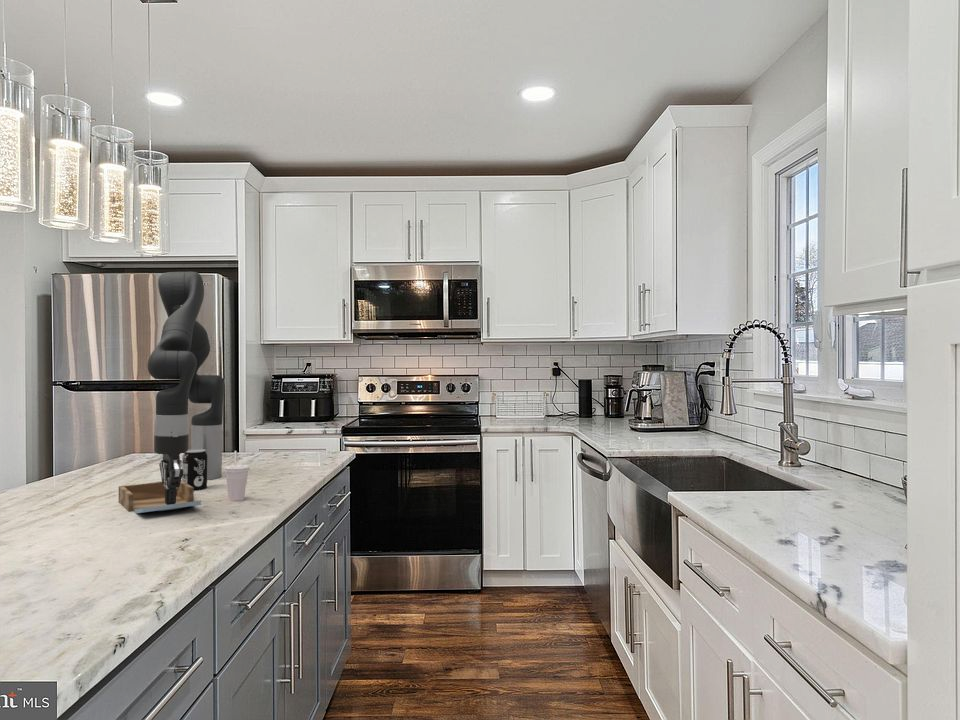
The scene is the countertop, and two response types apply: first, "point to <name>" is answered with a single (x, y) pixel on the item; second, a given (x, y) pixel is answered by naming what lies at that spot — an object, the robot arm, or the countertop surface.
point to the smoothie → (236, 480)
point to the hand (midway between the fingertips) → (170, 503)
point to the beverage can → (195, 468)
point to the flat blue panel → (167, 507)
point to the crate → (151, 495)
